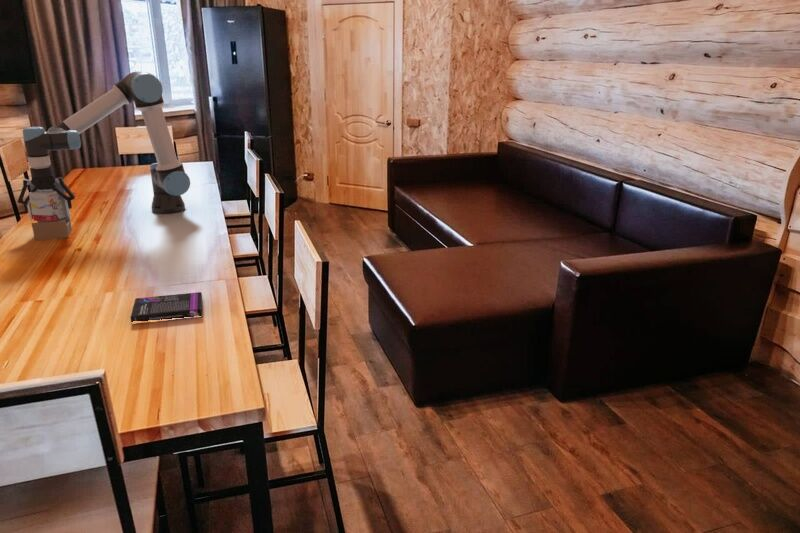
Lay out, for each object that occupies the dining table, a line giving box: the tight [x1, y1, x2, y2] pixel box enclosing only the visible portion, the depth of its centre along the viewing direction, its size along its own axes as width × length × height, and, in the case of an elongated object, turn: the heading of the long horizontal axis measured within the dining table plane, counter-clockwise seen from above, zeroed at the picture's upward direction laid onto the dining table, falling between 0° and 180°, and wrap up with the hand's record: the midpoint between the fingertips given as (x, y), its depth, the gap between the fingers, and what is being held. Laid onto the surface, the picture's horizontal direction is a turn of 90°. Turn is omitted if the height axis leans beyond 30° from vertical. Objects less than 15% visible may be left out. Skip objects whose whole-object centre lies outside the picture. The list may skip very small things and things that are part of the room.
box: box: [129, 291, 203, 323], centre depth 175 cm, size 14×4×20 cm
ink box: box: [28, 189, 66, 222], centre depth 237 cm, size 9×9×12 cm
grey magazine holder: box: [29, 181, 73, 241], centre depth 238 cm, size 12×13×22 cm
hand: (50, 217), depth 240 cm, fingers open, 13 cm apart
